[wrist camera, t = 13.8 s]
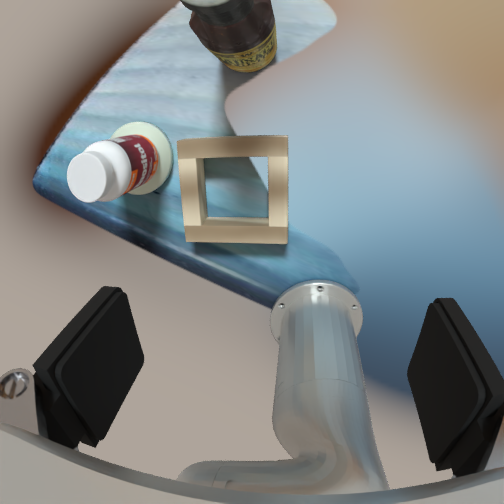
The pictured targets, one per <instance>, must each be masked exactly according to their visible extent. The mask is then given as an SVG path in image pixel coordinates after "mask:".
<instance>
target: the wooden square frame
mask: <svg viewBox="0 0 504 504" xmlns="http://www.w3.org/2000/svg"><path fill="white" fill-rule="evenodd" d="M177 151H178V164H179V176H180V188H181V198H182V209H183V218H184V228H185V237H186V242H224V243H269V244H287V240H288V136H287V135H268V136H267V135H263V136H262V135H258V136H224V137H205V138H189V139H183V140H179V141H177ZM257 156H258V157H261V156H262V157H263V156H264V157H265V156H267V157H268V186H269V187H268V190H269V218H258V217H208V214H207V201H206V188H205V173H204V158H216V157H257Z"/></svg>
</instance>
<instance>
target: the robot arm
mask: <svg viewBox="0 0 504 504" xmlns="http://www.w3.org/2000/svg"><path fill="white" fill-rule="evenodd" d="M319 286H320V287H319ZM362 322H363V314H362V309H361V306H360V303H359V301H358V299H357V297H356V296H355V295H354V294H353V293H352V292H351V291H350V290H349V289H348V288H346V287H345V286H343V285H341V284H338V283H336V282H332V281H328V280H310V281H305V282H302V283H299V284H296V285H294V286H292V287H290V288H289V289H287V290H286V291H284V292H283V293H282V294H281V295H280V296H279V297H278V299H277V300H276V302H275V303H274V305H273V308H272V311H271V316H270V328H271V332H272V334H273V336H274V338H275V340H276V341H277V342H278V343H279V355H278V366H277V376H276V386H275V396H274V405H273V416H272V422H273V429H274V431H275V434H276V437H277V439H278V440H279V442H280V444H281V445H282V446H283V448H284V449H285V450H286V451H287V452H288V453H289V454H290V455H291V456H292V457H293V459H288V460H278V461H203V462H198V463H195V464H192V465H190V466H189V467H187V468H186V469H185V470H183V472H181V474H180V475H179V476H178V478H177V480H171V479H167V478H162V477H158V476H154V475H151V474H147V473H143V472H139V471H136V470H132V469H129V468H125V467H122V466H119V465H116V464H112V463H109V462H106V461H103V460H100V459H98V458H95V457H92V456H89V455H86V454H84V453H81V452H79V450H78V444H79V442H80V441H81V442H82V443H84V444H87V445H89V446H92V447H96V446H97V444H98V442H99V440H100V441H101V440H103V439H104V438H105V436H106V434H107V432H108V430H109V428H110V426H111V424H112V422H113V420H114V419H115V417H116V415H117V413H118V411H119V409H120V407H121V405H122V403H123V401H124V399H125V398H126V396H127V394H128V392H129V390H130V388H131V386H132V385H133V383H134V381H135V379H136V377H137V375H138V373H139V372H140V370H141V368H142V366H143V363H144V354H143V351H142V348H141V344H140V341H139V338H138V334H137V331H136V327H135V324H134V320H133V316H132V312H131V309H130V305H129V302H128V298H127V294H126V293H124V292H123V291H122V289H121V288H119V287H109V286H104V287H102V288H101V289H100V290H99V291H98V292H97V293H96V294H95V295H94V296H93V297H92V298H91V299H90V301H89V302H88V303H87V304H86V305H85V306H84V307H83V308H82V309H81V311H79V313H78V314H77V315H76V316H75V317H74V318H73V319H72V320H71V321H70V322H69V323H68V325H67V326H66V327H65V328H64V329H63V330H62V331H61V332H60V334H59V335H58V336H57V337H56V338H55V339H54V341H53V342H52V343H51V344H50V345H49V346H48V348H47V349H46V350H45V351H44V352H43V354H42V355H41V356H40V357H39V358H38V359H37V360H36V362H35V363H34V364H33V367H34V369H35V371H36V373H35V374H34V375H32V373H31V372H30V371H28V370H26V369H22V368H18V369H13V370H10V371H8V372H6V373H5V374H3V375H2V376H1V377H0V504H504V380H503V378H502V376H501V374H500V372H499V370H498V368H497V367H496V365H495V363H494V361H493V360H492V358H491V356H490V354H489V353H488V351H487V349H486V348H485V346H484V344H483V343H482V341H481V339H480V338H479V336H478V335H477V333H476V331H475V330H474V328H473V327H472V325H471V323H470V322H469V320H468V319H467V317H466V316H465V314H464V313H463V311H462V310H461V308H460V307H459V305H458V304H457V302H456V301H455V300H454V299H453V298H437V299H435V300H434V302H433V303H430V305H429V306H428V309H427V312H426V316H425V319H424V323H423V326H422V329H421V332H420V335H419V338H418V341H417V344H416V347H415V350H414V353H413V356H412V358H411V361H410V364H409V367H408V371H407V372H408V373H407V376H408V381H409V383H410V387H411V391H412V394H413V397H414V401H415V404H416V408H417V411H418V415H419V419H420V422H421V426H422V430H423V434H424V438H425V442H426V446H427V450H428V454H429V459H430V461H431V462H432V463H435V466H436V471H441V470H446V469H450V468H452V471H453V477H452V478H451V479H449V480H445V481H440V482H435V483H429V484H424V485H418V486H412V487H406V488H399V489H392V490H390V488H389V484H388V481H387V479H386V475H385V472H384V470H383V466H382V463H381V460H380V457H379V454H378V450H377V446H376V443H375V438H374V433H373V428H372V422H371V417H370V411H369V405H368V399H367V393H366V387H365V382H364V376H363V371H362V365H361V361H360V355H359V350H358V345H357V340H356V337H357V336H358V334H359V332H360V330H361V326H362Z"/></svg>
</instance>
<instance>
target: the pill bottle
mask: <svg viewBox="0 0 504 504" xmlns="http://www.w3.org/2000/svg"><path fill="white" fill-rule="evenodd" d="M158 167H159V153H158V150H157V148H156V146H155V144H154V143H153V142H152V141H151V140H150V139H149V138H148V137H146V136H143V135H139V134H133V135H127V136H122V137H117V138H112V139H107V140H102V141H98V142H95V143H93V144H91V145H90V146H88V147H87V148H86V149H85V151H84V152H83V153H81V154H79V155H77V156H76V157H74V158H73V159H72V161H71V162H70V164H69V167H68V171H67V181H68V185H69V187H70V190H71V192H72V193H73V194H74V196H75V197H77V198H78V199H79V200H81V201H83V202H94V201H97V200H98V201H103V202H106V201H112V200H114V199H116V198H118V197H120V196H122V195H124V194H126V193H128V192H129V191H131V190H133V189H135V188H137V187H139V186H141V185H143V184H145V183H146V182H148V181H149V180H151V179H152V178H153V177H154V175H155V174H156V172H157V170H158Z"/></svg>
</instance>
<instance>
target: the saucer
mask: <svg viewBox="0 0 504 504" xmlns="http://www.w3.org/2000/svg"><path fill="white" fill-rule="evenodd" d="M133 134H139V135H143V136H146V137H148V138H149V139H150V140H151V141H152V142H153V143H154V144H155V146H156V148H157V150H158V153H159V167H158V170H157V172H156V174H155V175H154V177H153V178H152V179H151V180H149V181H148V182H146V183H145V184H143V185H141V186H139V187H137V188H135V189H133V190H131V191H129V192H128V193H130V194H135V195H142V194H147V193H150V192H152V191H154V190H155V189H157V188H159V187H160V186H161V185H162V184H163V183H164V182H165V181H166V180H167V178H168V176H169V175H170V172H171V170H172V166H173V150H172V146H171V143H170V141H169V139H168V137H167V136H166V134H165V133H164V132H163V131H162V130H161V129H160V128H159V127H157V126H155V125H154V124H151V123H148V122H132V123H128V124H126V125H123V126H122V127H120V128H119V129H118V130H117V131H116V132H115V133H114V134H113V135H112V136H111V138H110V139H112V138H117V137H122V136H127V135H133Z"/></svg>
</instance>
